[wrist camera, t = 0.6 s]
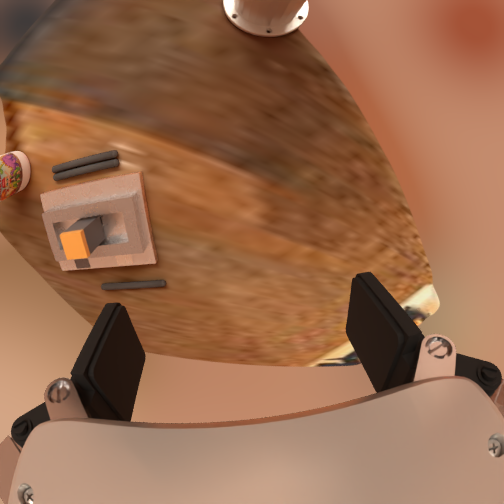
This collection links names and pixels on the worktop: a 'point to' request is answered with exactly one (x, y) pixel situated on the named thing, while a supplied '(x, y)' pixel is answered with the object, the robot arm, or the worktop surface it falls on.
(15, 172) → the milk bottle
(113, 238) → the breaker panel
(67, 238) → the block
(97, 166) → the cord
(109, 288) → the cord
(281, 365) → the worktop surface
